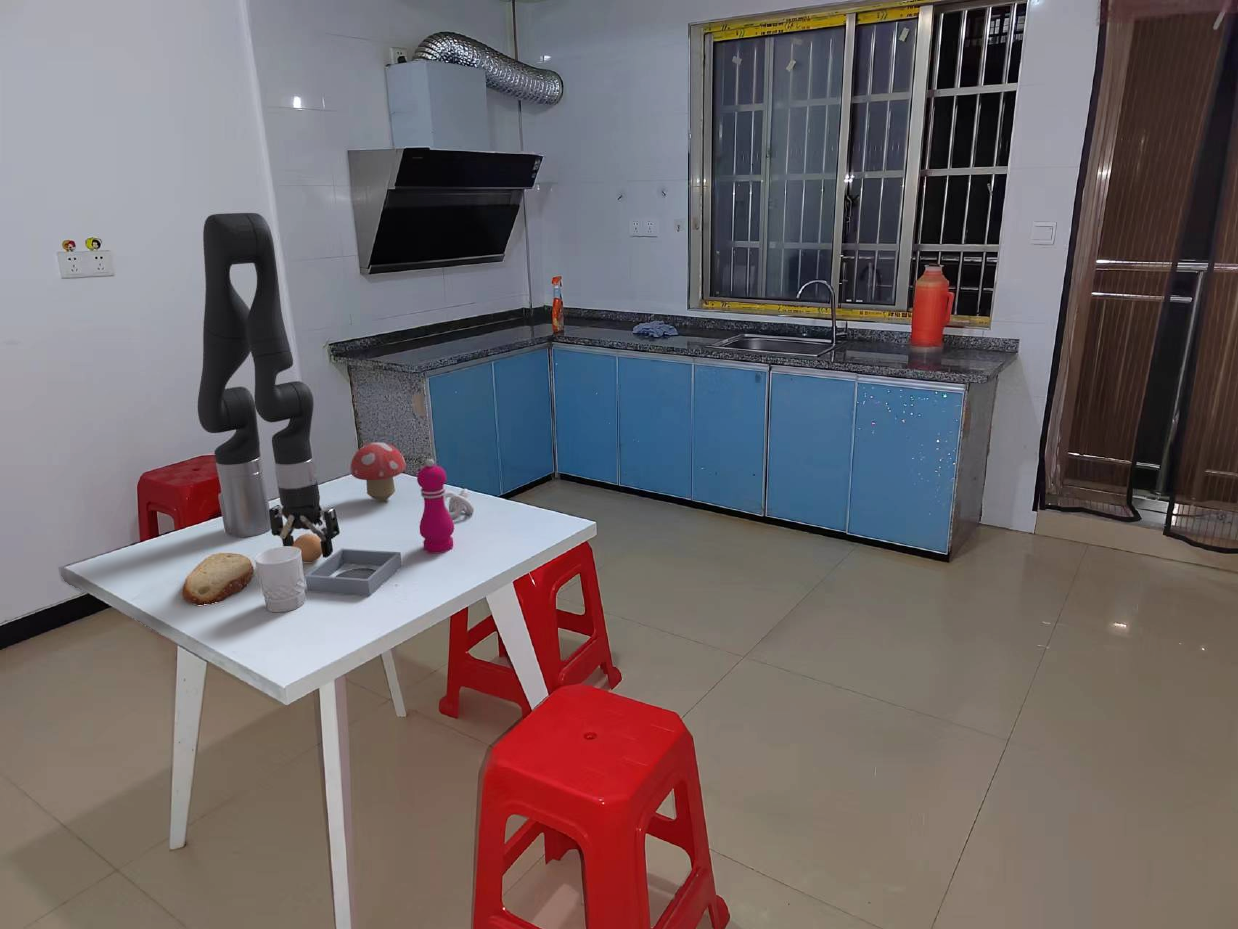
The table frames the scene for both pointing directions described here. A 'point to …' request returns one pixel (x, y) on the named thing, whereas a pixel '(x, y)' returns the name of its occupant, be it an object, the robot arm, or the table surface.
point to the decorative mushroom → (378, 468)
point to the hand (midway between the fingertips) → (309, 555)
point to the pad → (357, 573)
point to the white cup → (281, 578)
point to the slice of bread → (218, 578)
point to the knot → (458, 503)
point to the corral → (353, 586)
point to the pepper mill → (434, 510)
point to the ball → (309, 547)
